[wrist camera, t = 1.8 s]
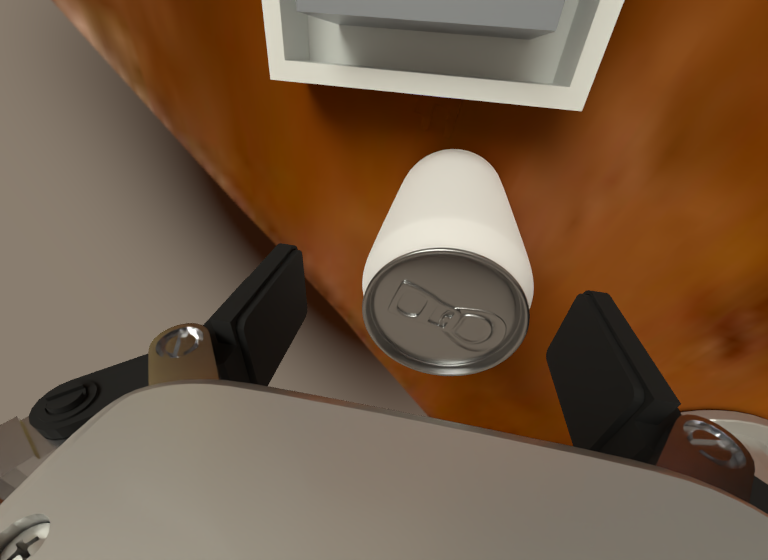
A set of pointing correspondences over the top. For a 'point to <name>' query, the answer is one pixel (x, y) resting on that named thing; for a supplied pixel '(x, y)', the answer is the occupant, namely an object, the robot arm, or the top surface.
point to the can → (448, 270)
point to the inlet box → (444, 47)
